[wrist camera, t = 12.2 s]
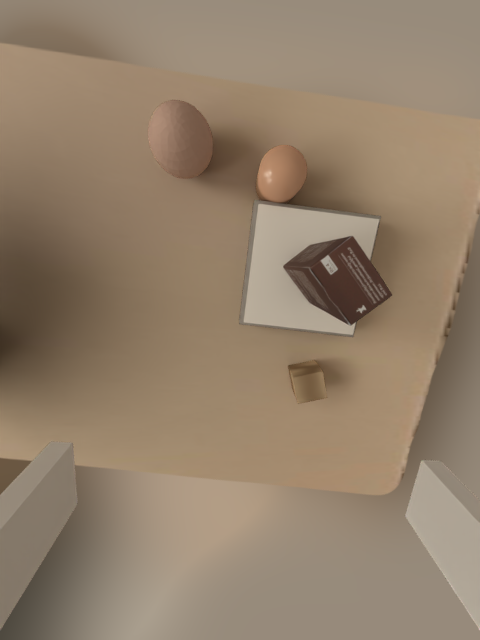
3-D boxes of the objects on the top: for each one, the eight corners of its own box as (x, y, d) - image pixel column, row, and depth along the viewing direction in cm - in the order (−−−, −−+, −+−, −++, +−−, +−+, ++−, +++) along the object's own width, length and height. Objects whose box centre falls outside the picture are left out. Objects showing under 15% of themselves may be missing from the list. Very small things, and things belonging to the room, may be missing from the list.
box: (340, 281, 33) (396, 296, 21) (309, 303, 33) (347, 330, 22) (311, 240, 32) (354, 232, 20) (280, 264, 32) (304, 271, 21)
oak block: (292, 389, 41) (298, 403, 37) (287, 365, 40) (293, 377, 36) (318, 384, 41) (327, 397, 37) (314, 359, 40) (322, 371, 36)
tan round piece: (253, 204, 34) (256, 194, 29) (258, 161, 33) (262, 141, 27) (291, 209, 35) (302, 200, 29) (298, 166, 33) (310, 148, 28)
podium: (239, 318, 38) (239, 325, 34) (253, 204, 34) (255, 198, 30) (343, 330, 38) (355, 339, 34) (368, 219, 35) (384, 215, 31)
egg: (209, 192, 34) (198, 171, 25) (157, 177, 34) (128, 150, 25) (221, 134, 32) (215, 90, 24) (167, 118, 32) (140, 67, 23)
